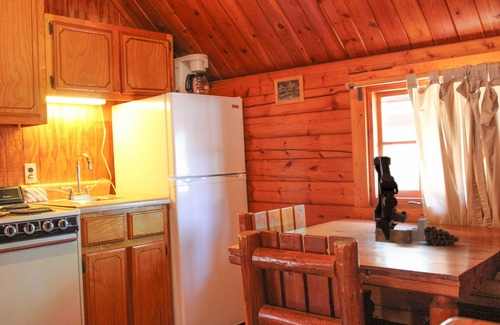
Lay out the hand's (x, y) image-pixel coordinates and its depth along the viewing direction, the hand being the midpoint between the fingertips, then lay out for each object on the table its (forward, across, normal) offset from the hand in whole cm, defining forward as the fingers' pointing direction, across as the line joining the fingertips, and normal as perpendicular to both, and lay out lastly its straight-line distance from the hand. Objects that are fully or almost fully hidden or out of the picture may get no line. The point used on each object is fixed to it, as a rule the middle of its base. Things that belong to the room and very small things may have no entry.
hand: (389, 239), depth 234 cm
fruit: (+1, 0, -23) cm, 23 cm away
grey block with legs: (+1, +10, -11) cm, 15 cm away
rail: (+1, 0, -2) cm, 2 cm away
